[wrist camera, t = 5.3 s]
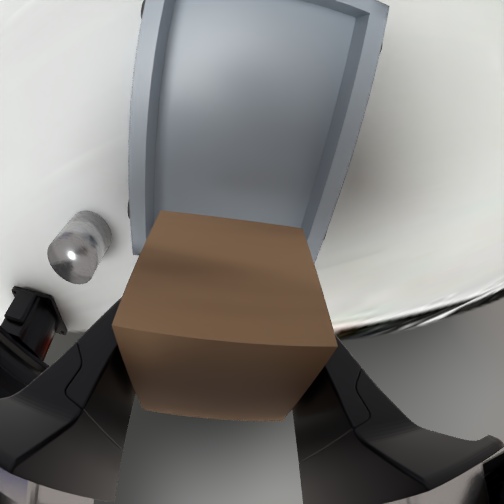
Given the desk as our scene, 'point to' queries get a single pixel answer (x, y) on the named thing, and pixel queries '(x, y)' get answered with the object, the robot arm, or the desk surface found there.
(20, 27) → the desk surface
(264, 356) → the walnut block
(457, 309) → the desk surface
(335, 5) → the tray
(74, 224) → the steel cylinder
